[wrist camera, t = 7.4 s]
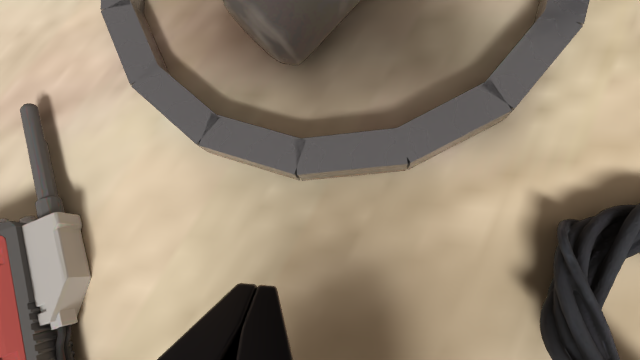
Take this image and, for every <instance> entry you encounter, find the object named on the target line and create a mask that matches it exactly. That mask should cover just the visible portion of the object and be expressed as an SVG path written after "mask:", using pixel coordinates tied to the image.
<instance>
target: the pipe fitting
mask: <svg viewBox="0 0 640 360" xmlns="http://www.w3.org/2000/svg"><path fill="white" fill-rule="evenodd" d="M359 1H360V0H223V2H224V5H225V7H226V9H227V10H228V12H229V13H230V14H231V16H232V17H233V18H234V19H235V21H236V22H237V23H238V24H239V25H240V26H241V27H242V28H243V29H244V30H245V31H246V33H247V34H248V35H249V36H250V37H251V38H252V39H253V40H254V41H255V42H256V43H257V44H258V45H259V46H261V47H262V48H263V49H264V50H265V51H266V52H267V53H268V54H269V55H271V56H272V57H273V58H274V59H276V60H277V61H279V62H281V63H284V64H291V65H299V64H301V63H302V62H303V61H304V60H305V59H306V58H307V57H308V56H309V55H310V54H311V53H312V52H313V51H314V50H315V49H316V48H317V47H318V46H319V45H320V44H321V43H322V41H323V40H324V39H325V38H326V37H327V36H328V35H329V34H330V33H331V32H332V31H333V30H334V28H335V27H336V26H337V25H338V24H339V23H340V22H341V21H342V20H343V19H344V18H345V17H346V15H347V14H348V13H349V12H350V11H351V10H352V9H353V8H354V7H355V6H356V5H357V4H358V2H359Z"/></svg>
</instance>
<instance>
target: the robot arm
mask: <svg viewBox="0 0 640 360" xmlns="http://www.w3.org/2000/svg"><path fill="white" fill-rule="evenodd" d="M157 360H293V357H292V353H291V349H290V344H289V340H288V336H287V331H286V327H285V322H284V318H283V314H282V309H281V305H280V301H279V296H278V292H277V288H276V287H275V286H267V285H259V286H258V287H257V286H256V285H254V284H244V283H240V284H237V285H236V286H235V287H234V288H233V289H232V290H231V291H230V292H229V293H228V294H226V295H225V296H224V297H223V298H222V299H221V300H220V301H219V302H218V303H217V304H216V305H215V306H214V307H213V308H212V309H210V310H209V311H208V312H207V313H206V314H205V315H204V316H203V317H202V318H201V319H200V320H199V321H198V322H197V323H196V324H194V325H193V326H192V327H191V328H190V329H189V330H188V331H187V332H186V333H185V334H184V335H183V336H182V337H181V338H180V339H178V340H177V341H176V342H175V343H174V344H173V345H172V346H171V347H170V348H169V349H168V350H167V351H166V352H165V353H164V354H162V355H161V356H160V357H159V358H158V359H157Z"/></svg>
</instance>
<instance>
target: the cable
mask: <svg viewBox="0 0 640 360" xmlns="http://www.w3.org/2000/svg"><path fill="white" fill-rule="evenodd" d="M557 239H558V245H557V248H556V252H555V257H554V264H553V266H554V278H553V279H552V282H551V284H550V287H549V290H548V294H547V298H546V300H545V302H544V304H543V307H542V310H541V316H540V330H541V335H542V339H543V342H544V344H545V347H546V349H547V351H548V353H549V355H550V356H551V358H552V360H620V358H619V355H618V352H617V349H616V346H615V344H614V340H613V337H612V335H611V332H610V329H609V326H608V324H607V322H606V319H605V317H604V315H603V312H602V310H601V309H602V307H603V304H604V302H605V300H606V298H607V296H608V293H609V291H610V289H611V287H612V286H613V283H614V280H615V278H616V276H617V274H618V272H619V271H620V269H621V266H622V264H623V262H624V261H625V259H626V258H628V257H631V256H633V255H635V254H637V253H639V252H640V203H639V204H638V205H621V206H614V207H611V208H608V209H606V210H603V211H601V212H600V213H599V214H597V215H596V216H594V217H589V218H586V219H584V220H581V221H578V220H574V219H567V220H563V221H561V222H560V223H559V225H558V229H557Z"/></svg>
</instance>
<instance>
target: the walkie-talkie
mask: <svg viewBox="0 0 640 360" xmlns="http://www.w3.org/2000/svg"><path fill="white" fill-rule="evenodd" d="M20 113H21V118H22V123H23V128H24V133H25V138H26V143H27V148H28V153H29V158H30V164H31V169H32V174H33V179H34V184H35V189H36V194H37V199H38V200H37V201H36V203H35V205H36V210H37V216H38V219H37V220H36V217H35V216H27V217H23V218H20V219H19V222H13V221H8V219H0V360H74V356H73V355H74V354H75V353H74V351H72V345H73V343H72V342H71V341H70V338H71V334H72V332H71V325H72V324H75V323H77V322H78V320H77V316H78V313H79V310H80V308H81V305H82V302H83V299H84V297H85V294H86V291H87V288H88V286H89V283H90V280H91V275H90V270H89V266H88V261H87V257H86V252H85V247H84V243H83V238H82V234H81V228H82V223H81V218H80V215H76V214H69V213H65V212H64V208H63V203H62V199H61V198H60V197H58V192H57V187H56V183H55V178H54V173H53V168H52V163H51V159H50V154H49V149H48V144H47V142H46V141H45V139H44V134H43V130H42V125H41V121H40V116H39V112H38V107H37V106H36V105H34V104H24V105H23V106H22V107H21V109H20Z"/></svg>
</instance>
